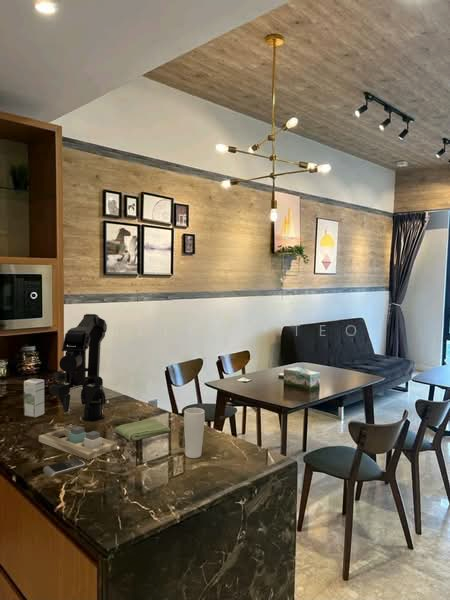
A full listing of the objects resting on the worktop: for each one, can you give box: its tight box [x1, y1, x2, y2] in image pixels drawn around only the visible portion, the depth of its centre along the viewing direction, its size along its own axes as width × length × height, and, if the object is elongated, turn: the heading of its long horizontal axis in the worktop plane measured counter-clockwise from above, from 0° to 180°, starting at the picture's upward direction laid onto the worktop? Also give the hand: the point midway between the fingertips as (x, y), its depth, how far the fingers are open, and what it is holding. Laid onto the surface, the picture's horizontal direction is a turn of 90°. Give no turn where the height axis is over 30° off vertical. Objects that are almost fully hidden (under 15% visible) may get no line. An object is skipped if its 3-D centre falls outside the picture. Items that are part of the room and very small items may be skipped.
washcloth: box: [114, 418, 171, 442], centre depth 168 cm, size 13×18×3 cm
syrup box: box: [23, 378, 45, 418], centre depth 184 cm, size 6×6×14 cm
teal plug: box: [69, 425, 87, 444], centre depth 154 cm, size 4×4×6 cm
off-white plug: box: [84, 430, 103, 450], centre depth 149 cm, size 4×4×6 cm
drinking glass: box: [183, 407, 206, 459], centre depth 147 cm, size 7×7×15 cm
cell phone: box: [42, 458, 86, 477], centre depth 136 cm, size 6×11×1 cm, turn 133°
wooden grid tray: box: [38, 426, 118, 461], centre depth 154 cm, size 12×26×2 cm, turn 56°
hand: (77, 408), depth 159 cm, fingers open, 9 cm apart
